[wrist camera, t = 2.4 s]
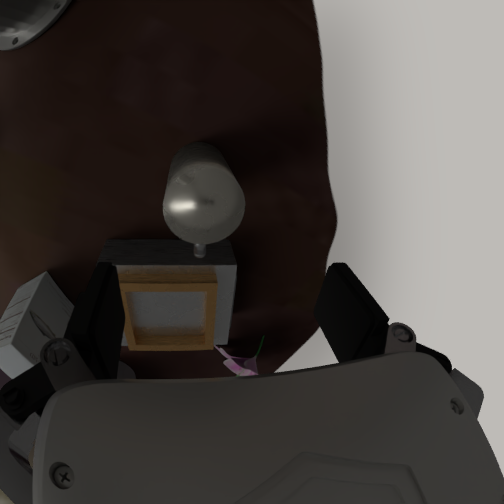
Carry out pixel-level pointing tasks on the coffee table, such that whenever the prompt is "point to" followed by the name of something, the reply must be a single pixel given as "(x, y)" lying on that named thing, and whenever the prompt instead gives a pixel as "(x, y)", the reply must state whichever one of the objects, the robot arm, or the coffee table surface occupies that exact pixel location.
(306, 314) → the coffee table surface
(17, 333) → the supplement box
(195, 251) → the spout can
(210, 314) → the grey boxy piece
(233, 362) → the lily
